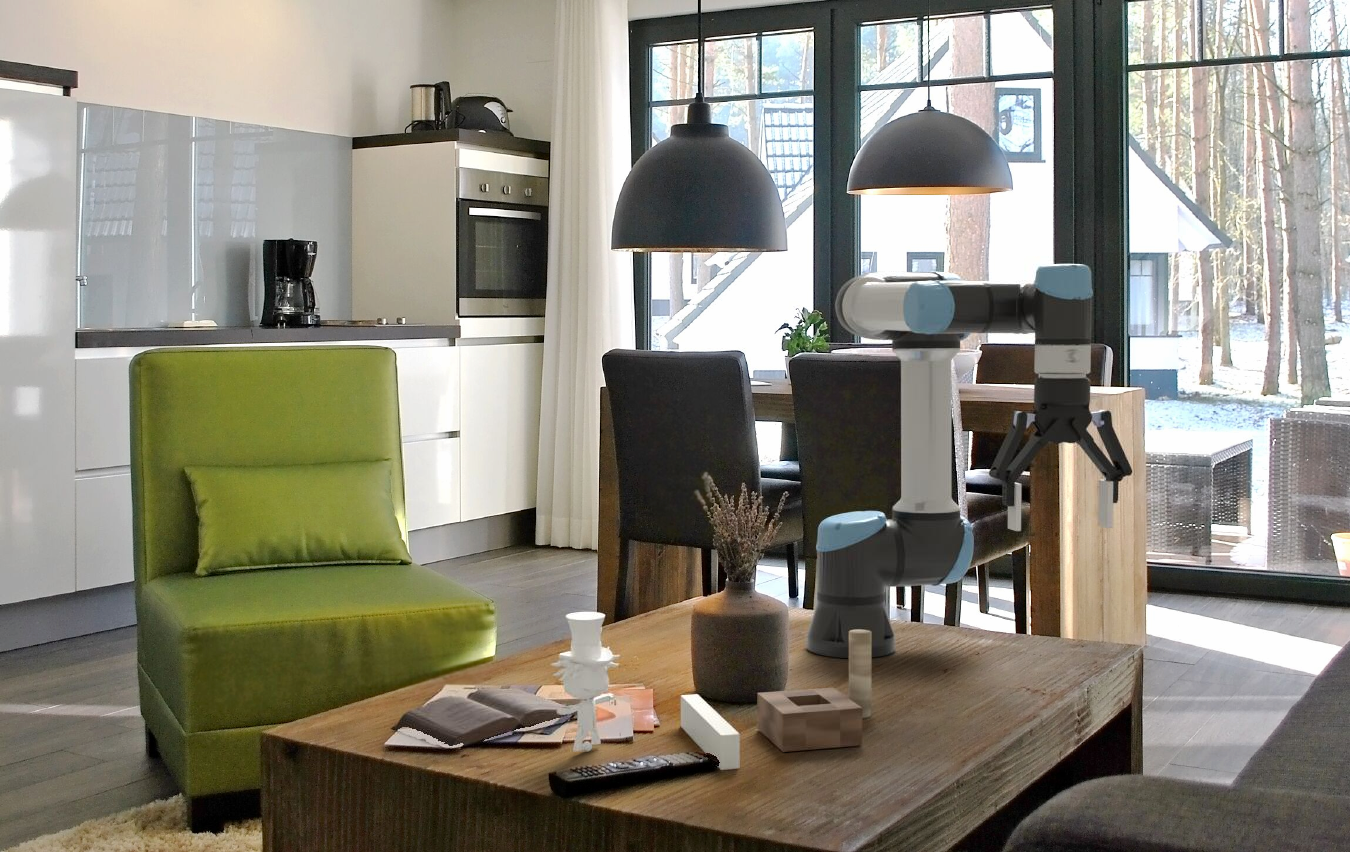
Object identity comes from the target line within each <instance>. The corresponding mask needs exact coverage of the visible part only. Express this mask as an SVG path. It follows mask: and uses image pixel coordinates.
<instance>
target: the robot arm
mask: <svg viewBox="0 0 1350 852" xmlns="http://www.w3.org/2000/svg"><path fill="white" fill-rule="evenodd" d="M1093 296H1094V290H1093V288H1092V270H1091V268H1090V266H1088V265H1086V264H1080V263H1077V264H1076V263H1056V264H1055V263H1050V264H1041V265H1040V266H1038V267H1037V270H1036V271H1035V277H1034V280H985V281H984V280H982V281H981V280H978V281H977V280H976V281H975V280H974V281H972V280H963V279H962V278H961V277H960V276H959V275H957V274H955V273H950V272H942V271H934V270H932V271H893V272H892V271H888V272H887V271H874V272H873V271H871V272H866V273H862V274H860V275H857V276H855V277H853V278H851V279H850V280H848V281H846V282H845V283H844V284H843V285H842V286H841V288H840V289H839V291H838V292H837V296H836V299H835V303H834V304H835V305H834V307H835V308H834V309H835V314H836V317H837V320H838V321H839V323H840V325H841V326H842V327H843V328H844V329H845V330H846V331H848V332H849V333H851V334H853V335H855V336H857V337H860V338H863V339H869V340H874V341H875V340H877V341H891V345H892V347H891V350H892V352H893V354H895V355H896V357H898V359H899V360H900V379H901V380H900V413H901V414H900V419H901V420H900V428H901V429H900V442H901V444H900V445H901V446H900V451H901V452H900V454H901V455H900V457H901V458H900V461H901V462H900V463H901V464H900V467H901V468H900V470H901V471H900V476H901V477H900V478H901V481H900V486H901V487H900V489H901V490H900V491H901V494H900V496H901V497H900V499H898V501H897V502H896V503H895V504H894V505H893V506H892V518H890V519H887V517H886V514H885V513H884V512H882V511H878V510H865V511H864V510H863V511H861V510H860V511H859V510H858V511H849V512H844V513H839V514H835V515H831V516H829V517H826V518H825V519H823V520H822V521H821V522H819V523H820V524H819V525H818V528H817V540H816V544H815V545H816V546H815V548H816V549H815V550H816V567H817V568H816V571H817V572H816V591H817V592H816V598H817V599H816V606H815V610H814V612H813V615H812V619H811V621H810V625H809V626H808V627H809V628H808V630H807V634H806V649H807V650H808V651H809V652H811V653H813V654H817V655H821V656H825V657H830V658H831V657H832V658H842V659H849V631H850V630H857V629H861V630H869V631H871V632H872V646H871V658H877V657H884V656H886V655H889V654H892V653H894V652H895V651H896V636H895V632H894V629H893V626H892V623H891V619H890V617H889V613H888V611H887V607H886V588H891V587H892V588H893V587H894V588H895V587H912V586H934V587H937V586H940V585H946V584H953V583H954V584H955V583H957V582H958V581H960V580H961V579H963V578H964V576H965V575H966V573H967V572H968V570H969V568H970V566H971V564H972V560H973V556H974V555H973V554H974V546H975V545H974V544H975V543H974V542H975V539H974V532H972V529H973V528H972V525H971V523H970V521H969V520H968V519H967V518H966V517H964V516H962V515H961V507H960V506H959V505H958V504H957V502H955V501H954V499H953V498H952V360H953V359H954V357H955V356H956V355H958V353H959V352H960V351H961V341H964V340H966V339H967V338H968V337H970V335H971V334H1014V335H1016V334H1018V335H1020V334H1022V335H1027V334H1034V368H1033V369H1034V371H1033V372H1034V373H1035V374H1038V377H1036V378H1035V379H1034V380H1033V381H1034V382H1033V403H1034V409H1033V412H1032V413H1028V412H1025V411H1019V410H1015V411H1013V412H1012V414H1011V420H1010V427H1009V430H1008V432H1007V433H1006V435H1005V438H1004V440H1003V443H1001V446H1000V448H999V450H998V453H997V454H996V457H995V459H994V461H993V463H992V465H991V467H990V469H989V471H988V475H989V477H991V478H994V479H996V480H999V481H1000V482H1001V485H1002V490H1001V492H1002V493H1001V494H1002V495H1001V498H1002V500H1001V503H1002V505H1003V506H1005V507H1007V529H1008V530H1012V531H1014V532H1021V531H1022V487H1023V486H1022V483H1019V482H1017V481H1018V479H1019V478H1020V477H1021V476H1022V474H1023V473H1024V472H1025V470H1026V469H1027V468H1028V467H1029V465H1031V463H1033V461H1034V459H1035V458H1036V457H1037V456H1038V454H1039V453H1040V452H1041V451H1042V449H1043V448H1045V447H1046V446H1047V445H1048V444H1055V445H1058V444H1062V443H1066V444H1077V445H1079V447H1081V449H1082V450H1083V452H1084V453H1085V454H1086V455H1087V456H1088V458H1089V459H1090V460H1091V462H1092V463H1093V465H1095V467H1096V468H1097V469H1098V470H1099V472H1100V473H1101V475H1102V476H1103V478H1105V479H1098V511H1097V512H1098V519H1097V520H1098V521H1097V523H1098V524H1097V525H1098V526H1100V527H1102V528H1106V529H1113V525H1114V524H1113V518H1114V517H1113V514H1114V504H1117V503H1118V501H1119V482H1121V481H1122V480H1123V479H1124V477H1129V476H1131V475H1132V474H1133V469H1132V466H1131V464H1130V462H1129V460H1128V457H1127V456H1126V453H1125V451H1124V449H1123V447H1122V445H1121V442H1120V439H1119V438H1118V436H1117V433H1116V431H1115V428H1114V427H1113V419H1112V418H1113V417H1112V412H1111V411H1109V410H1104V409H1097V410H1096V411H1092V412H1091V410H1090V404H1091V403H1090V402H1091V380H1090V378H1089V377H1087V374H1090V373H1091V363H1092V361H1091V353H1092V345H1091V344H1092V343H1091V339H1092V317H1093V314H1092V312H1093ZM1091 422H1092V423H1093V425H1094V426H1095V427H1096V429H1097V432H1098V434H1099V437H1100V438H1101V441H1102V443H1103V446H1104V447H1105V450H1106V451H1107V454H1108V457H1109V458H1108V457H1107V456H1106V454H1105V453H1104V452H1103V451H1102V450H1101V448H1100V447H1099V446H1098V444H1097V443H1096V442H1095V439H1094V438H1093V436H1092V435H1091V433H1090V432H1089V431H1088V430H1087V429H1088V428H1089V426H1090V424H1091ZM1031 424H1033V425H1034V426H1033V427H1035V430H1034V432H1033V433H1032V434H1031V435H1030V437H1029V439H1028V442H1027V443H1026V444H1025V445H1024V446H1023V448H1022V449H1021V450H1020V452H1018V454H1017V455H1016V457H1015V458H1014V456H1015V454H1016V452H1017V450H1018V448H1019V446H1020V443H1021V442H1022V440H1023V437H1024V434H1025V433H1026V430H1027V428H1029V426H1030V425H1031ZM1110 460H1111V461H1110Z"/></svg>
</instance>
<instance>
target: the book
mask: <svg viewBox="0 0 1350 852" xmlns="http://www.w3.org/2000/svg"><path fill="white" fill-rule="evenodd" d="M564 706H565V705H562V704H559V703H557V702H555V701H552V700H548V699H545V698H543V697H540V696H536V695H535V694H532V693H528V692H526V691H524V690H522V689H521V688H512V687H510V688H489V687H487V688H479V689H477V690H476V691H473V692H469V694H467V697H466V696H460V695H455V696H454V695H449V696H445V697H440V698H437V699H435V700H432V701H430V702H428V703H426V704H425V705H422V706H418V707H416V708H413V709H410V710H408V711H407V712H405V713H404V714H402V716H401V718H400V719H399V720H398V722H397V723H396V724H394V725H393V726H391V728H390V730H392V731H395V732H397V731H396V730H398V729H400V728H402V727H409V728H412V729H416V730H417V731H421V732H423V733H424V734H427V735H430V736H432V737H433V738H436V739H438V741H441V742H445V743H444V744H448V745H449V746H453V745H457V744H460V743H463V744H464V747H468V746H471V745H472V746H473V745H475V744H477V745H478V744H482V743H481V742H483V741H484V740H485V739H489V738H491V737H494V736H498V735H501V734H504V733H507V732H509V731H514V730H516V729H520V728H525V727H531V726H534V725H536V724H539V723H542V722H545V721H550V720H553V719H556V718H561V717H564V716H567V715H577V712H578V711H576V712H573V713H571V714H565V715H560V714H558V713H557V712H556V711H557V710H558V709H561V708H563V707H564ZM483 743H484V742H483Z"/></svg>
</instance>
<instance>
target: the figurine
mask: <svg viewBox="0 0 1350 852" xmlns="http://www.w3.org/2000/svg"><path fill="white" fill-rule="evenodd" d="M565 618H566V621H567V622H568V625H569V627H570V629H569V630H570V633H571V642H570V650H569V651H565V652H562V653H559V654H558V658H559V659H558V661H557V662H553V663H550V664H551V666H553V667H555V668H557V667H563V668H560V669H559V670H557V672H556V673H553V674H552V676H553V677H558V676H561V675H562V676H561V677H560V678H559V679H558V681H559V682H563V685H562V686H563V690H564V691H565V693H566V694H567V695H569V696H571V697H573V698H574V699H578V700H580V702H579V703H576V704H575V705H569V706H564V707H563V708H561V709H558V710H557V711H556V712H557V713H558V714H560V715H565V714H571V713H573V712H576V711H578V712H577V727H578V728H577V731H576V734H575V739H574V743H573V748H572V751H573V752H580V751H584V752H586V753H588V752H590V751H591V750H592V748H593V746H596V745H600V744H601V743H602V741H601V738H600V735H599V731H598V728H597V716H596V715H597V713H596V711H597V710H596V709H597V708H596V705H598V704H604V703H606V702H607V703H608V702H611V701H613V700H614V699H615V698H616V694H614V693H606V692H608V690H609V685H610V678H609V675H608V669H609V668H617V667H618V666H619V665H620V663H614V662H613V660H617V659H618V658H620V656H621V655H620V654H617V655H615V654H613V652H612V651H611V650H610V646H607V648H606V647H604V646H602V641H601V636H602V633H603V632H602V631H603V629H604V628H603V627H602V625H603V624H604V623H603V622H604V621H605V618H606V614H604V613H602V612H595V611H580V612H579V611H578V612H572V613H571V612H570V613H568V614H566V615H565ZM590 732H591V733H590ZM589 733H590V740H591V741H585V740H586V738H587V737H588V735H589Z"/></svg>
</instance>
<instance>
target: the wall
mask: <svg viewBox="0 0 1350 852" xmlns="http://www.w3.org/2000/svg"><path fill="white" fill-rule="evenodd" d="M680 727H681V728H682V730H684V732H685V733H686V734H687V735H688V736H689V737H690V738H691V739H692V740H693V741H694V743H696V745H698V746H699V748H700V749H701V750H702V751H703V752H704V753H705V754H706V753H710V754H712V755H714V756H716V757H717V759H718V760H719V762H720V763H719V766H717V767H718V768H719V769H720V771H725V770H736V769H740V768H741V767H740V766H741V765H740V758H741V757H740V754H741V753H740V750H741V749H740V748H741V747H740V743H741V742H740V733H739V731H737V730H736V729H735V728H734V727H733V726H732V725H731V724H730V723H729V722H728V721H726V719H724V718H723V716H721V715H720V714H719V713H718V712H717V711H716V710H715V709H714V708H713V707H712V706H711V705H709V704H708V702H707V701H705V700H704V699H703V698H702V697H701V695H699V694H698V693H695V694H682V695H680Z"/></svg>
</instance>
